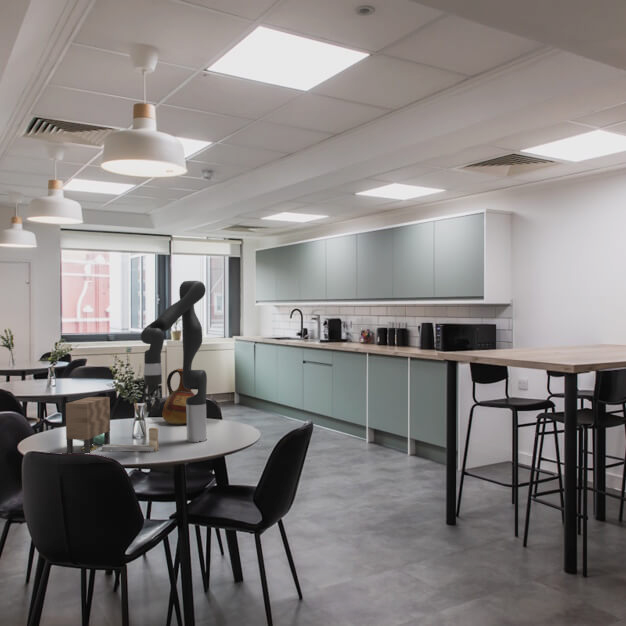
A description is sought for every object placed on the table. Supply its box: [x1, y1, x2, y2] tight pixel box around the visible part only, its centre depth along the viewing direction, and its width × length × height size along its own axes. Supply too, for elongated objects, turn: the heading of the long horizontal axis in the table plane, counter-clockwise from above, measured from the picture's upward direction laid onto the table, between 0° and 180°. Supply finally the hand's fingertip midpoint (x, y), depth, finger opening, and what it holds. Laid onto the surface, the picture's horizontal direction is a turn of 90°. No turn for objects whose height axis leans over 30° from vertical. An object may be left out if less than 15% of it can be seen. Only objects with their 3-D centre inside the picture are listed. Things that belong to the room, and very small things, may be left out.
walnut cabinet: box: [65, 396, 111, 454], centre depth 277 cm, size 20×10×22 cm, turn 171°
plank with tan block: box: [101, 426, 160, 453], centre depth 274 cm, size 5×25×10 cm, turn 81°
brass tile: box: [80, 445, 98, 452], centre depth 277 cm, size 5×5×2 cm
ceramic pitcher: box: [161, 367, 196, 425], centre depth 340 cm, size 20×20×30 cm
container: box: [94, 433, 104, 445], centre depth 296 cm, size 6×6×25 cm
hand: (153, 410), depth 273 cm, fingers open, 8 cm apart
